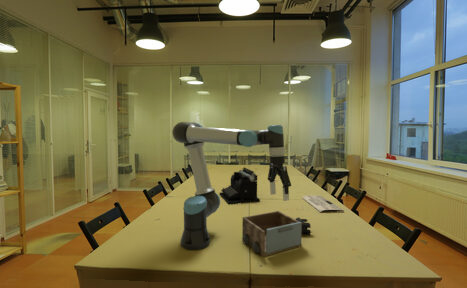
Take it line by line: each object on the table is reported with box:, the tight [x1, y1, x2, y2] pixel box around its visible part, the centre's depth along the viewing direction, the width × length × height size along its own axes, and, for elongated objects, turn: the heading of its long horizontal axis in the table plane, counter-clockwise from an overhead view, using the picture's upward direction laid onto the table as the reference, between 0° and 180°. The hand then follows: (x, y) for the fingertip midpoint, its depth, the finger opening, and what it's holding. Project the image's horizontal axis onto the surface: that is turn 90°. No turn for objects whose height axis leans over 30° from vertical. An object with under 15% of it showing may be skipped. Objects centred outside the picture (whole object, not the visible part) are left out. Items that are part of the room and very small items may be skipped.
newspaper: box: [301, 195, 345, 213], centre depth 184 cm, size 37×19×3 cm, turn 4°
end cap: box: [294, 217, 312, 236], centre depth 133 cm, size 10×7×7 cm
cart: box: [241, 210, 302, 257], centre depth 120 cm, size 20×26×12 cm
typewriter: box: [218, 166, 261, 206], centre depth 201 cm, size 31×27×25 cm
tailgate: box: [266, 222, 302, 253], centre depth 110 cm, size 2×20×11 cm, turn 116°
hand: (279, 197), depth 116 cm, fingers open, 13 cm apart
